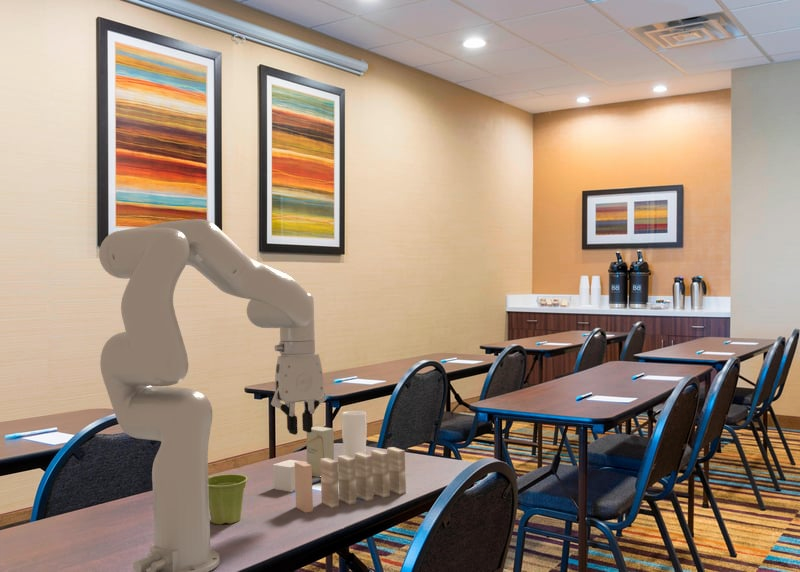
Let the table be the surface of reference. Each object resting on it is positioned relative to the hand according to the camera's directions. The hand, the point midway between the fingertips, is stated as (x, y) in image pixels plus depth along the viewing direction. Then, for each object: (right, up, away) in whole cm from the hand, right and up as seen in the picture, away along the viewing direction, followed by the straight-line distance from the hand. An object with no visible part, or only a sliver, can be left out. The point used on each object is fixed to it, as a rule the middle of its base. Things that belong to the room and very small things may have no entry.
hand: (300, 431), depth 166 cm
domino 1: (+1, -17, +1) cm, 17 cm away
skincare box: (+1, -17, +31) cm, 35 cm away
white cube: (-5, -18, +19) cm, 27 cm away
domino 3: (+10, -17, +6) cm, 21 cm away
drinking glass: (+10, -17, +36) cm, 41 cm away
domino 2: (+6, -17, +4) cm, 18 cm away
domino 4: (+14, -17, +8) cm, 23 cm away
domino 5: (+18, -17, +11) cm, 26 cm away
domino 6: (+21, -17, +13) cm, 30 cm away
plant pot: (-15, -18, -6) cm, 24 cm away
